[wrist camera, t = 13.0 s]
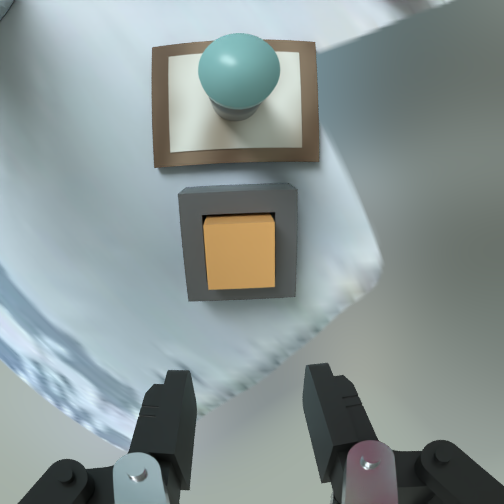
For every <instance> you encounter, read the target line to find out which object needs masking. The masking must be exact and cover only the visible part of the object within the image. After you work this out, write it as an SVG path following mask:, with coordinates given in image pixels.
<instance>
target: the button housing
mask: <svg viewBox="0 0 504 504" xmlns="http://www.w3.org/2000/svg"><path fill="white" fill-rule="evenodd" d="M178 200H179V213H180V225H181V236H182V247H183V256H184V266H185V275H186V284H187V292H188V300H189V301H220V300H245V299H266V298H284V297H295V292H296V260H297V189H296V188H294V187H293V186H292V185H290V184H289V183H285V184H244V185H220V186H201V187H186V188H185V189H184V190H182V191H181V192H180V193H179V194H178ZM260 212H270V214H271V216H272V218H273V220H274V222H275V287H264V288H242V289H217V290H208V280H207V268H206V256H205V243H204V229H203V224H204V222H205V219H206V217H207V215H211V214H233V213H260Z"/></svg>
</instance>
